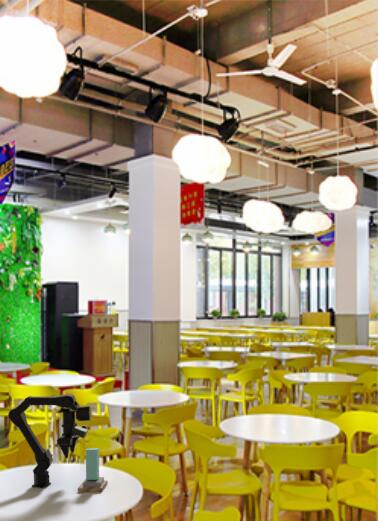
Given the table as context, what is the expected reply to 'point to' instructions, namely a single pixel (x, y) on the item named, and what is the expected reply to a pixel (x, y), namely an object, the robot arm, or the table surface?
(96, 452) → the teal pillar
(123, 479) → the table surface
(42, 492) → the table surface
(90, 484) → the charcoal tile
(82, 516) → the table surface
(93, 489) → the walnut slab
